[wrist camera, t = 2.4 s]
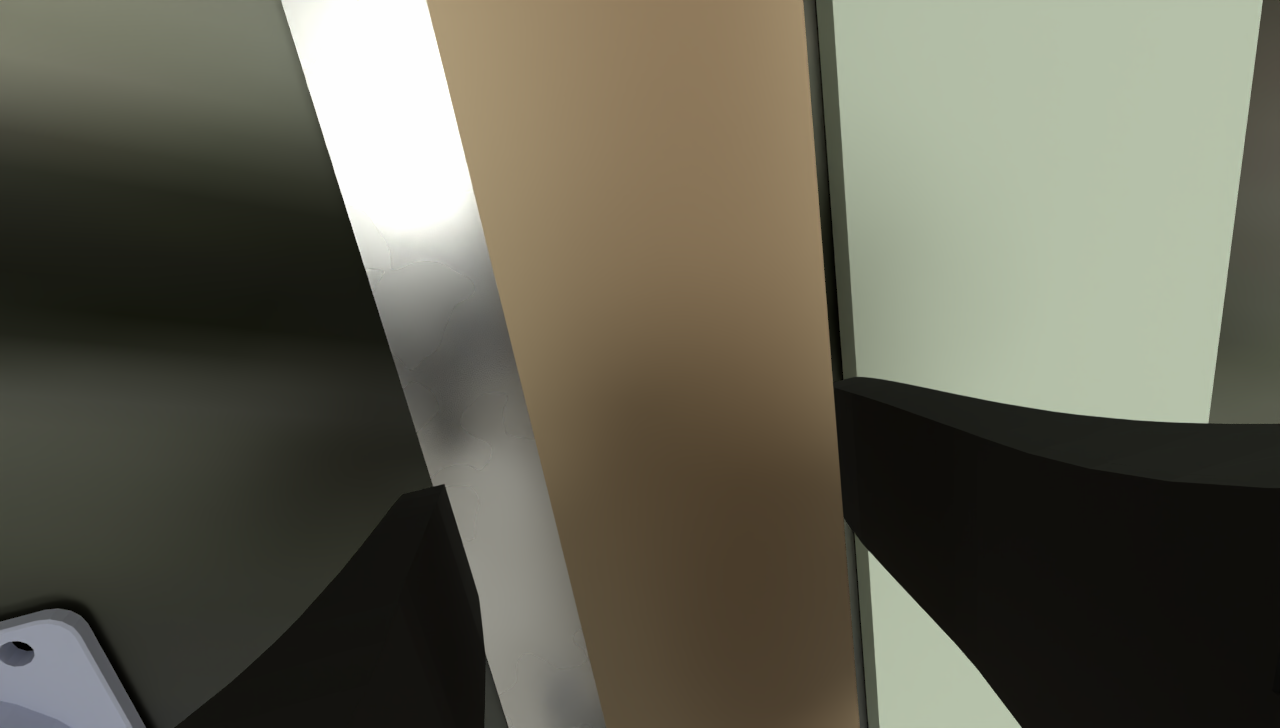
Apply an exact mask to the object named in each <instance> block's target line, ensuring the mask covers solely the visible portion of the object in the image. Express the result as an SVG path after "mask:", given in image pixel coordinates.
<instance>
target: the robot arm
mask: <svg viewBox="0 0 1280 728" xmlns="http://www.w3.org/2000/svg"><path fill="white" fill-rule="evenodd" d="M833 390H834V403H835V416H836V429H837V442H838V455H839V467H840V480H841V493H842V506H843V517H844V519H845V520H846V522H847V523H848V524H849V526H850V527H851V529H852V530H853V531H854V533H855V534H856V536H857V537H858V538H859V540H860V541H861V543H862V544H863V545H864V546H865V547H866V548H867V549H868V551H869V552H870V553H871V554H872V555H873V556H874V557H875V558H876V559H877V560H878V562H879V563H880V564H881V565H882V566H883V567H884V568H885V569H886V570H887V571H888V572H889V573H890V575H891V576H892V577H893V578H894V579H895V580H896V581H897V582H898V583H899V584H900V585H901V586H902V587H903V589H904V590H905V591H906V592H907V593H908V594H909V595H910V596H911V597H912V598H913V599H914V600H915V601H916V602H917V603H918V604H919V606H920V607H921V608H922V609H923V610H924V611H925V612H926V613H927V614H928V615H929V616H930V617H931V618H932V619H933V620H934V622H935V623H936V624H937V625H938V626H939V627H940V628H941V629H942V630H943V631H944V632H945V633H946V634H947V635H948V636H949V638H950V639H951V640H952V641H953V642H954V643H955V644H956V645H957V646H958V647H959V649H960V650H961V651H962V652H963V653H964V654H965V656H966V657H967V658H968V659H969V660H970V661H971V663H972V664H973V665H974V666H975V667H976V668H977V670H978V671H979V672H980V673H981V675H982V676H983V677H984V679H985V680H986V681H987V683H988V684H989V685H990V687H991V688H992V689H993V691H994V692H995V693H996V694H997V696H998V697H999V698H1000V700H1001V701H1002V702H1003V704H1004V705H1005V706H1006V708H1007V709H1008V710H1009V712H1010V713H1011V714H1012V716H1013V717H1014V718H1015V720H1016V721H1017V722H1018V723H1019V725H1020V726H1021V727H1022V728H1280V424H1210V423H1179V422H1157V421H1140V420H1128V419H1117V418H1107V417H1097V416H1087V415H1077V414H1069V413H1061V412H1054V411H1047V410H1041V409H1035V408H1029V407H1023V406H1016V405H1010V404H1005V403H999V402H994V401H988V400H983V399H978V398H973V397H968V396H963V395H958V394H953V393H949V392H944V391H939V390H934V389H929V388H925V387H920V386H915V385H910V384H905V383H900V382H895V381H889V380H883V379H877V378H869V377H852V378H848V379H844V380H840V381H837V382H833ZM12 641H20V642H23V643H26V644H28V645H29V646H30V647H31V648H32V649H33V650H34V651H25V650H22V649H19V648H17V647H16V646H15V645H14V644H13V643H12ZM485 657H486V656H485V646H484V636H483V627H482V618H481V609H480V601H479V595H478V592H477V589H476V585H475V582H474V579H473V575H472V572H471V569H470V566H469V562H468V559H467V556H466V553H465V549H464V546H463V543H462V539H461V536H460V533H459V530H458V526H457V523H456V520H455V517H454V513H453V510H452V507H451V504H450V500H449V497H448V494H447V490H446V487H445V484H442V485H438V486H434V487H430V488H426V489H422V490H419V491H415V492H411V493H407V494H403V495H402V496H401V497H400V498H399V499H398V500H397V501H396V503H395V504H394V505H393V506H392V507H391V509H390V510H389V511H388V513H387V514H386V515H385V516H384V518H383V519H382V520H381V522H380V523H379V524H378V525H377V527H376V528H375V529H374V531H373V532H372V533H371V535H370V536H369V537H368V538H367V540H366V541H365V542H364V543H363V545H362V546H361V547H360V548H359V550H358V551H357V552H356V553H355V555H354V556H353V557H352V558H351V559H350V561H349V562H348V563H347V564H346V566H345V567H344V568H343V569H342V571H341V572H340V573H339V574H338V575H337V576H336V577H335V578H334V580H333V581H332V582H331V583H330V584H329V585H328V586H327V587H326V588H325V590H324V591H323V592H322V593H321V594H320V595H319V596H318V597H317V599H316V600H315V601H314V602H313V603H312V604H311V605H310V606H309V607H308V609H307V610H306V611H305V612H304V613H303V614H302V615H301V616H300V618H299V619H298V620H297V621H296V622H295V623H294V624H293V625H292V626H291V627H290V628H289V629H288V630H287V631H286V632H285V633H284V634H283V635H282V636H281V637H280V638H279V639H278V640H277V641H276V642H275V643H274V644H273V645H272V646H270V647H269V648H268V649H267V650H266V651H265V652H264V653H263V654H262V655H261V656H260V657H258V658H257V659H256V660H255V661H254V662H253V663H252V664H251V665H250V666H249V667H248V668H247V669H245V670H244V671H243V672H242V673H241V674H240V675H239V676H238V677H236V678H235V679H234V680H233V681H232V682H231V683H230V684H228V685H227V686H226V687H225V688H224V689H222V690H221V691H220V692H219V693H217V694H216V695H215V696H214V697H212V698H211V699H210V700H209V701H207V702H206V703H205V704H204V705H202V706H201V707H200V708H199V709H197V710H196V711H195V712H194V713H192V714H191V715H190V716H189V717H187V718H186V719H185V720H184V721H182V722H181V723H180V724H179V725H177V726H176V727H175V728H484V713H485ZM0 728H146V727H145V725H144V723H143V721H142V720H141V718H140V716H139V714H138V712H137V711H136V709H135V707H134V705H133V703H132V702H131V700H130V698H129V696H128V694H127V693H126V691H125V689H124V687H123V685H122V684H121V682H120V680H119V678H118V676H117V675H116V673H115V671H114V669H113V667H112V666H111V664H110V662H109V660H108V658H107V657H106V655H105V653H104V651H103V649H102V648H101V646H100V644H99V642H98V640H97V639H96V637H95V635H94V633H93V631H92V630H91V628H90V626H89V624H88V623H87V622H86V621H85V620H84V619H83V617H82V616H80V615H78V614H76V613H74V612H72V611H70V610H64V609H59V608H57V609H48V610H42V611H39V612H35V613H31V614H27V615H24V616H20V617H16V618H12V619H8V620H5V621H1V622H0Z"/></svg>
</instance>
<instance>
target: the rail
mask: <svg viewBox="0 0 1280 728" xmlns="http://www.w3.org/2000/svg"><path fill="white" fill-rule="evenodd" d="M426 1H427V5H428V9H429V13H430V17H431V22H432V26H433V30H434V34H435V38H436V42H437V46H438V50H439V54H440V58H441V62H442V66H443V70H444V74H445V78H446V82H447V86H448V90H449V94H450V98H451V102H452V106H453V110H454V114H455V118H456V122H457V127H458V131H459V135H460V139H461V143H462V147H463V151H464V155H465V159H466V163H467V167H468V171H469V175H470V179H471V183H472V187H473V191H474V195H475V199H476V203H477V207H478V211H479V215H480V219H481V223H482V227H483V232H484V236H485V240H486V244H487V248H488V252H489V256H490V260H491V264H492V268H493V272H494V276H495V280H496V284H497V288H498V292H499V296H500V300H501V304H502V308H503V312H504V316H505V320H506V324H507V328H508V332H509V337H510V341H511V345H512V349H513V353H514V357H515V361H516V365H517V369H518V373H519V377H520V381H521V385H522V389H523V393H524V397H525V401H526V405H527V409H528V413H529V417H530V421H531V425H532V429H533V433H534V438H535V442H536V446H537V450H538V454H539V458H540V462H541V466H542V470H543V474H544V478H545V482H546V486H547V490H548V494H549V498H550V502H551V506H552V510H553V514H554V518H555V522H556V526H557V530H558V534H559V538H560V543H561V547H562V551H563V555H564V559H565V563H566V567H567V571H568V575H569V579H570V583H571V587H572V591H573V595H574V599H575V603H576V607H577V611H578V615H579V619H580V623H581V627H582V631H583V635H584V639H585V643H586V648H587V652H588V656H589V660H590V664H591V668H592V672H593V676H594V680H595V684H596V688H597V692H598V696H599V700H600V704H601V708H602V712H603V716H604V720H605V724H606V728H860V724H859V711H858V698H857V686H856V673H855V660H854V647H853V634H852V621H851V609H850V596H849V583H848V570H847V557H846V544H845V532H844V519H843V506H842V493H841V480H840V467H839V455H838V442H837V429H836V416H835V403H834V390H833V378H832V365H831V352H830V339H829V326H828V314H827V301H826V288H825V275H824V262H823V249H822V237H821V224H820V211H819V198H818V185H817V172H816V160H815V147H814V134H813V121H812V108H811V95H810V83H809V70H808V57H807V44H806V31H805V18H804V6H803V0H426Z"/></svg>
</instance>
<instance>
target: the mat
mask: <svg viewBox="0 0 1280 728" xmlns="http://www.w3.org/2000/svg"><path fill="white" fill-rule="evenodd" d="M1262 2H1263V0H816V6H817V20H818V34H819V48H820V62H821V76H822V89H823V103H824V117H825V131H826V145H827V159H828V173H829V187H830V200H831V214H832V228H833V242H834V256H835V270H836V284H837V298H838V311H839V325H840V339H841V353H842V367H843V380H844V379H848V378H852V377H869V378H877V379H883V380H889V381H895V382H900V383H905V384H910V385H915V386H920V387H925V388H929V389H934V390H939V391H944V392H949V393H953V394H958V395H963V396H968V397H973V398H978V399H983V400H988V401H994V402H999V403H1005V404H1010V405H1016V406H1023V407H1029V408H1035V409H1041V410H1047V411H1054V412H1061V413H1069V414H1077V415H1087V416H1097V417H1107V418H1117V419H1128V420H1140V421H1157V422H1179V423H1208V420H1209V413H1210V405H1211V397H1212V389H1213V382H1214V374H1215V366H1216V358H1217V351H1218V343H1219V335H1220V327H1221V320H1222V312H1223V304H1224V296H1225V289H1226V281H1227V273H1228V265H1229V258H1230V250H1231V242H1232V234H1233V227H1234V219H1235V211H1236V203H1237V196H1238V188H1239V180H1240V172H1241V165H1242V157H1243V149H1244V141H1245V134H1246V126H1247V118H1248V110H1249V103H1250V95H1251V87H1252V79H1253V72H1254V64H1255V56H1256V48H1257V41H1258V33H1259V25H1260V17H1261V10H1262ZM855 547H856V561H857V575H858V589H859V603H860V617H861V630H862V644H863V658H864V672H865V686H866V700H867V714H868V727H869V728H1022V727H1021V726H1020V725H1019V723H1018V722H1017V721H1016V720H1015V718H1014V717H1013V716H1012V714H1011V713H1010V712H1009V710H1008V709H1007V708H1006V706H1005V705H1004V704H1003V702H1002V701H1001V700H1000V698H999V697H998V696H997V694H996V693H995V692H994V691H993V689H992V688H991V687H990V685H989V684H988V683H987V681H986V680H985V679H984V677H983V676H982V675H981V673H980V672H979V671H978V670H977V668H976V667H975V666H974V665H973V664H972V663H971V661H970V660H969V659H968V658H967V657H966V656H965V654H964V653H963V652H962V651H961V650H960V649H959V647H958V646H957V645H956V644H955V643H954V642H953V641H952V640H951V639H950V638H949V636H948V635H947V634H946V633H945V632H944V631H943V630H942V629H941V628H940V627H939V626H938V625H937V624H936V623H935V622H934V620H933V619H932V618H931V617H930V616H929V615H928V614H927V613H926V612H925V611H924V610H923V609H922V608H921V607H920V606H919V604H918V603H917V602H916V601H915V600H914V599H913V598H912V597H911V596H910V595H909V594H908V593H907V592H906V591H905V590H904V589H903V587H902V586H901V585H900V584H899V583H898V582H897V581H896V580H895V579H894V578H893V577H892V576H891V575H890V573H889V572H888V571H887V570H886V569H885V568H884V567H883V566H882V565H881V564H880V563H879V562H878V560H877V559H876V558H875V557H874V556H873V555H872V554H871V553H870V552H869V551H868V549H867V548H866V547H865V546H864V545H863V544H862V543H861V541H860V540H859V538H858V537H857V536H856V534H855Z"/></svg>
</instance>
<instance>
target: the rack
mask: <svg viewBox="0 0 1280 728" xmlns="http://www.w3.org/2000/svg"><path fill="white" fill-rule="evenodd" d="M281 1H282V5H283V8H284V11H285V14H286V17H287V21H288V24H289V27H290V30H291V33H292V37H293V40H294V43H295V46H296V49H297V53H298V56H299V59H300V62H301V65H302V69H303V72H304V75H305V78H306V81H307V85H308V88H309V91H310V94H311V97H312V101H313V104H314V107H315V110H316V113H317V117H318V120H319V123H320V126H321V129H322V132H323V136H324V139H325V142H326V145H327V148H328V152H329V155H330V158H331V161H332V164H333V168H334V171H335V174H336V177H337V180H338V184H339V187H340V190H341V193H342V196H343V200H344V203H345V206H346V209H347V212H348V216H349V219H350V222H351V225H352V228H353V232H354V235H355V238H356V241H357V244H358V248H359V251H360V254H361V257H362V260H363V264H364V267H365V270H366V273H367V276H368V279H369V283H370V286H371V289H372V292H373V295H374V299H375V302H376V305H377V308H378V311H379V315H380V318H381V321H382V324H383V327H384V331H385V334H386V337H387V340H388V343H389V347H390V350H391V353H392V356H393V359H394V363H395V366H396V369H397V372H398V375H399V379H400V382H401V385H402V388H403V391H404V395H405V398H406V401H407V404H408V407H409V410H410V414H411V417H412V420H413V423H414V426H415V430H416V433H417V436H418V439H419V442H420V446H421V449H422V452H423V455H424V458H425V462H426V465H427V468H428V471H429V474H430V478H431V481H432V484H433V487H434V486H438V485H442V484H445V487H446V490H447V494H448V497H449V500H450V504H451V507H452V510H453V513H454V517H455V520H456V523H457V526H458V530H459V533H460V536H461V539H462V543H463V546H464V549H465V553H466V556H467V559H468V562H469V566H470V569H471V572H472V575H473V579H474V582H475V585H476V589H477V592H478V595H479V601H480V609H481V618H482V627H483V636H484V646H485V653H486V657H487V660H488V663H489V666H490V669H491V673H492V676H493V679H494V682H495V685H496V689H497V692H498V695H499V698H500V701H501V704H502V708H503V711H504V714H505V717H506V720H507V724H508V727H509V728H606V724H605V720H604V716H603V712H602V708H601V704H600V700H599V696H598V692H597V688H596V684H595V680H594V676H593V672H592V668H591V664H590V660H589V656H588V652H587V648H586V643H585V639H584V635H583V631H582V627H581V623H580V619H579V615H578V611H577V607H576V603H575V599H574V595H573V591H572V587H571V583H570V579H569V575H568V571H567V567H566V563H565V559H564V555H563V551H562V547H561V543H560V538H559V534H558V530H557V526H556V522H555V518H554V514H553V510H552V506H551V502H550V498H549V494H548V490H547V486H546V482H545V478H544V474H543V470H542V466H541V462H540V458H539V454H538V450H537V446H536V442H535V438H534V433H533V429H532V425H531V421H530V417H529V413H528V409H527V405H526V401H525V397H524V393H523V389H522V385H521V381H520V377H519V373H518V369H517V365H516V361H515V357H514V353H513V349H512V345H511V341H510V337H509V332H508V328H507V324H506V320H505V316H504V312H503V308H502V304H501V300H500V296H499V292H498V288H497V284H496V280H495V276H494V272H493V268H492V264H491V260H490V256H489V252H488V248H487V244H486V240H485V236H484V232H483V227H482V223H481V219H480V215H479V211H478V207H477V203H476V199H475V195H474V191H473V187H472V183H471V179H470V175H469V171H468V167H467V163H466V159H465V155H464V151H463V147H462V143H461V139H460V135H459V131H458V127H457V122H456V118H455V114H454V110H453V106H452V102H451V98H450V94H449V90H448V86H447V82H446V78H445V74H444V70H443V66H442V62H441V58H440V54H439V50H438V46H437V42H436V38H435V34H434V30H433V26H432V22H431V17H430V13H429V9H428V5H427V1H426V0H281Z"/></svg>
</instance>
